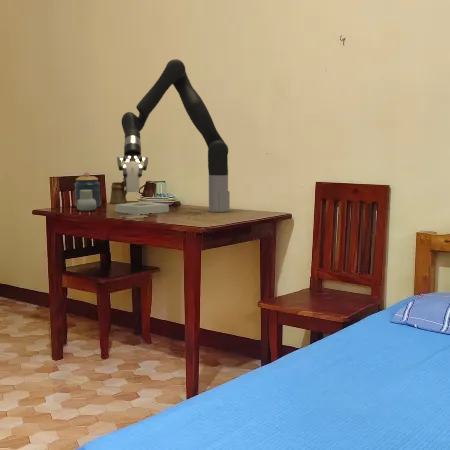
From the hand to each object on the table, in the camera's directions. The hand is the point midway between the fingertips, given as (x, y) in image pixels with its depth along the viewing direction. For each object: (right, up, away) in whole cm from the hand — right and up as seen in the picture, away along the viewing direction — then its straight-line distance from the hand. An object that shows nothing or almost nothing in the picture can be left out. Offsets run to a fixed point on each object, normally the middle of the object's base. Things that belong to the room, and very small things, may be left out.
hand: (132, 176), depth 269 cm
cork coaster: (0, -18, +4) cm, 18 cm away
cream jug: (0, -7, +2) cm, 7 cm away
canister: (-30, -12, +48) cm, 58 cm away
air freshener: (-27, -15, +30) cm, 43 cm away
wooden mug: (-15, -10, +63) cm, 66 cm away
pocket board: (+1, -15, +25) cm, 29 cm away
